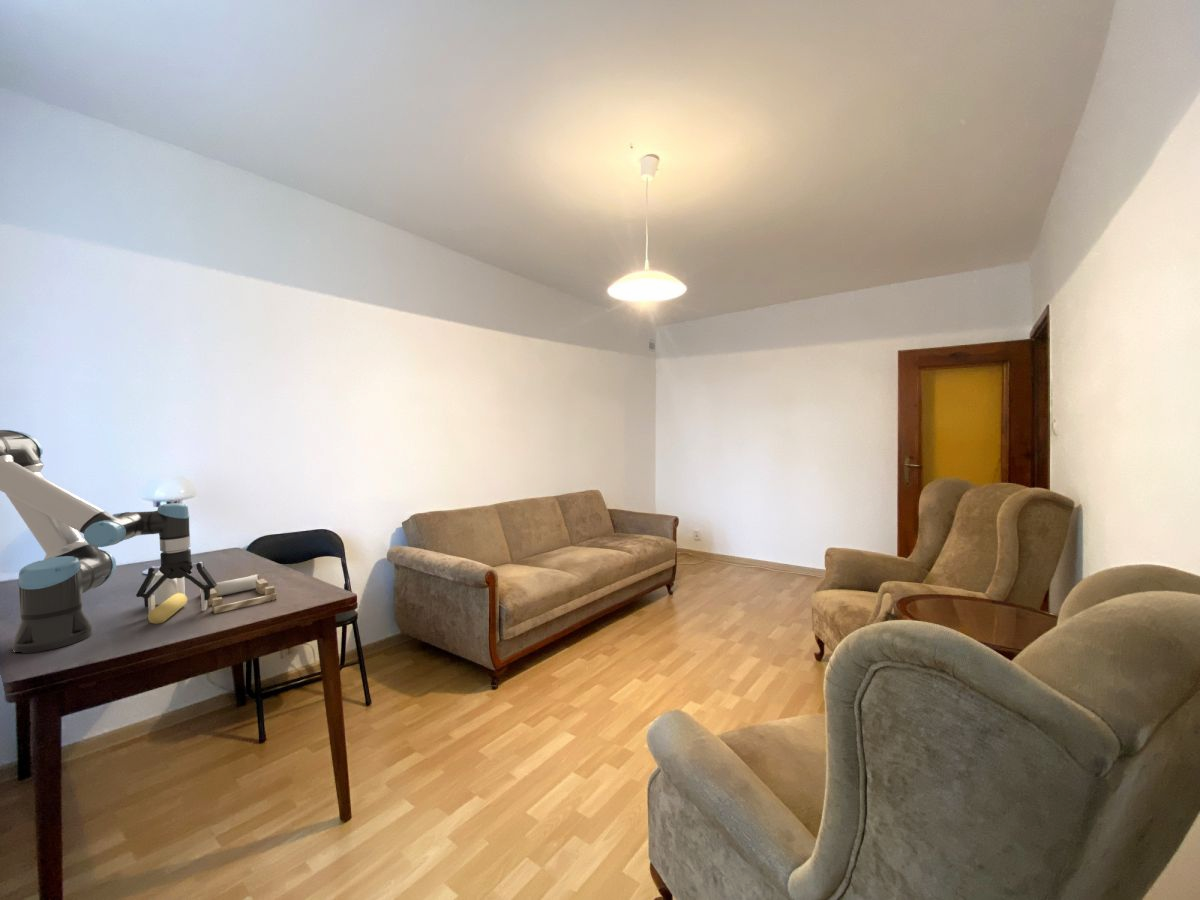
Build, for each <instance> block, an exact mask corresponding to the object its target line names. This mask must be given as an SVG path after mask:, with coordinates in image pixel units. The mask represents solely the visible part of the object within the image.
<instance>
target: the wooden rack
mask: <svg viewBox="0 0 1200 900" xmlns="http://www.w3.org/2000/svg"><path fill="white" fill-rule="evenodd" d="M255 575H257V577H258V580H255V581H256V589H255V592H257V593H258V594H259V595H262V596H258V597H252V598H248V599H244V600H239V601H235V602H230V603H226V604H224V602H223V601H224V600H223V599H224V598H223V597H222V596H218V597H217V592H216V591H215V589H214V588H213V589H210V599H209V600H207V607H210V606H211V609H212V610H211V611H212V613H214V614H215V615H216V614H218V613H219V614H220V613H223V612H228V611H232V610H236V609H242V608H246V607H250V606H254V605H260V604H262V603H263V604H264V603H267V602H268V603H269V602H271V600H272V601H276V600H275V599H277V597H278V596H277V593H276V587H275V586H274V585H271V586H269V581H268V580H266V579H264V578H260V575H259V574H257V573H256V574H251V575H249V576H255ZM202 591H203V590H202V589H201V588H200V587H199V593H200V596H201V592H202Z"/></svg>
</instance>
